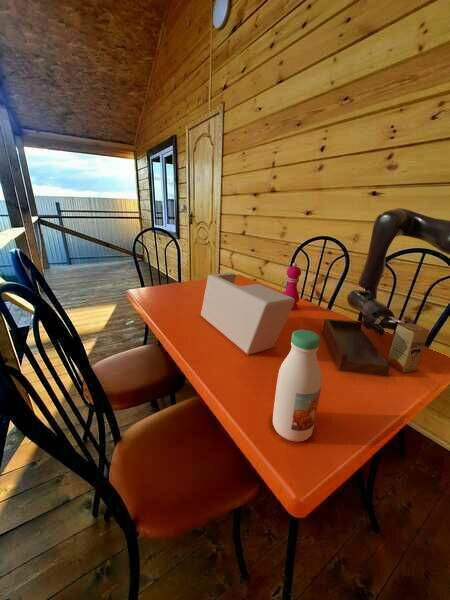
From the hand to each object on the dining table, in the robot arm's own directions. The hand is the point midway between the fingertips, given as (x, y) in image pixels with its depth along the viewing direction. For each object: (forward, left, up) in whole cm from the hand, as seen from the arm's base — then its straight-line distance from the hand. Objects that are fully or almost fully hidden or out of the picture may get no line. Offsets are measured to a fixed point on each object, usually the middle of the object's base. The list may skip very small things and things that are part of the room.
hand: (398, 334), depth 74 cm
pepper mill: (+28, -34, -7) cm, 45 cm away
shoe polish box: (0, +6, -7) cm, 9 cm away
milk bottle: (+32, +34, -7) cm, 47 cm away
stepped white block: (+47, -3, -7) cm, 48 cm away
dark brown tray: (+12, 0, -7) cm, 14 cm away
